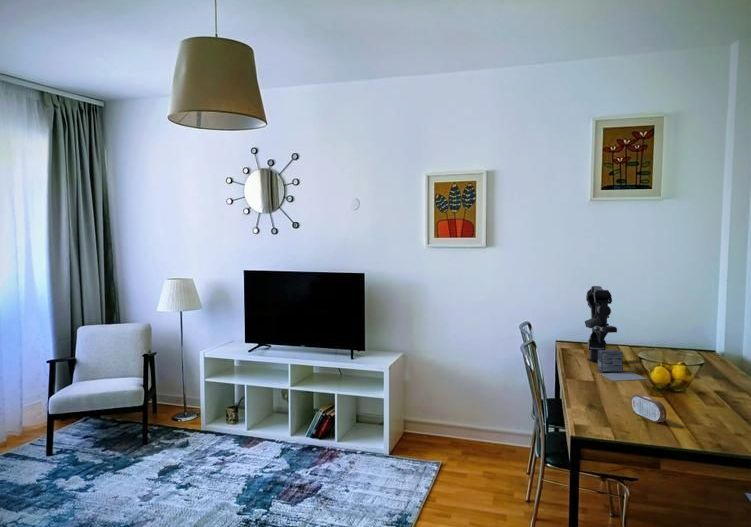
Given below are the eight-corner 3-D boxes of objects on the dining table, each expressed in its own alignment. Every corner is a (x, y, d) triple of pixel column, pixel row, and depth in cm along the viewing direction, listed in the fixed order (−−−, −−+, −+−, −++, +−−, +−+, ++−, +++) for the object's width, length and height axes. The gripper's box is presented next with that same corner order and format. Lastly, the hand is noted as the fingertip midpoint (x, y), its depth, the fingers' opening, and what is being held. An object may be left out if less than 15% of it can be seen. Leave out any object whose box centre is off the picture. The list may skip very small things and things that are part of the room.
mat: (598, 374, 255) (599, 373, 255) (630, 372, 258) (630, 372, 258) (614, 381, 243) (614, 380, 243) (647, 379, 246) (647, 378, 246)
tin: (666, 425, 188) (667, 402, 187) (660, 426, 187) (660, 403, 186) (635, 411, 202) (636, 390, 202) (628, 412, 201) (629, 391, 201)
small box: (618, 369, 263) (618, 349, 263) (623, 372, 257) (623, 352, 256) (597, 369, 264) (597, 349, 264) (601, 372, 258) (601, 351, 257)
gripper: (577, 311, 275) (576, 339, 276) (598, 316, 256) (597, 347, 257) (595, 310, 277) (595, 339, 278) (618, 316, 258) (617, 346, 259)
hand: (600, 342), depth 268 cm, fingers closed
